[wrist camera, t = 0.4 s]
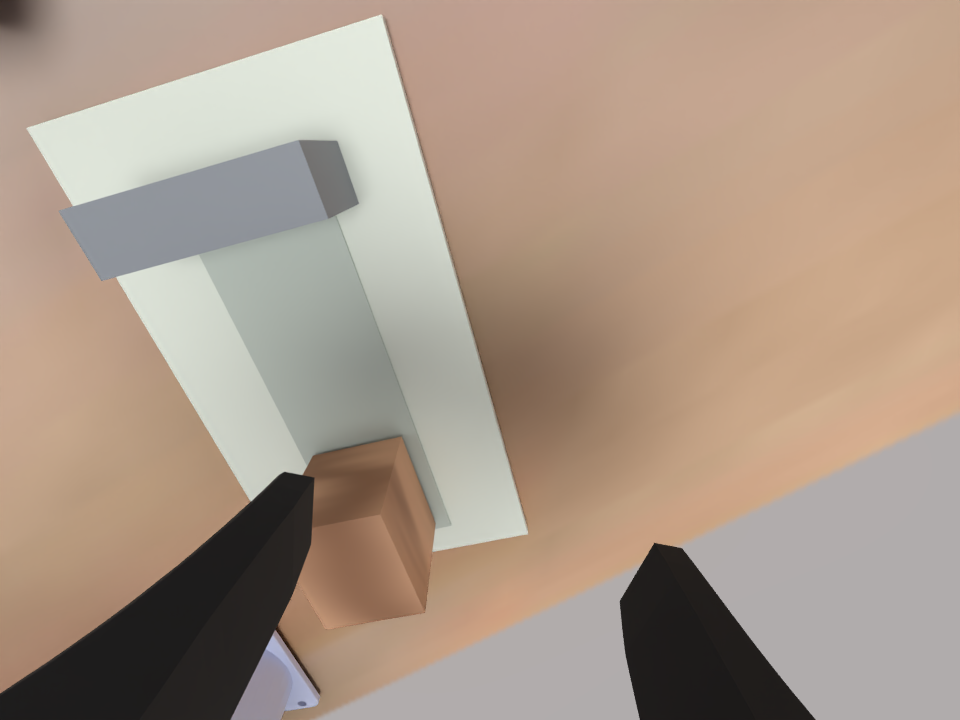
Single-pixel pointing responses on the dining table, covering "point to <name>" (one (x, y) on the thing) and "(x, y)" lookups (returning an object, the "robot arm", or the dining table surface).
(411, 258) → the board
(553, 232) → the dining table surface
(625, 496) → the dining table surface
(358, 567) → the block
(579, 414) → the dining table surface
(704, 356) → the dining table surface
